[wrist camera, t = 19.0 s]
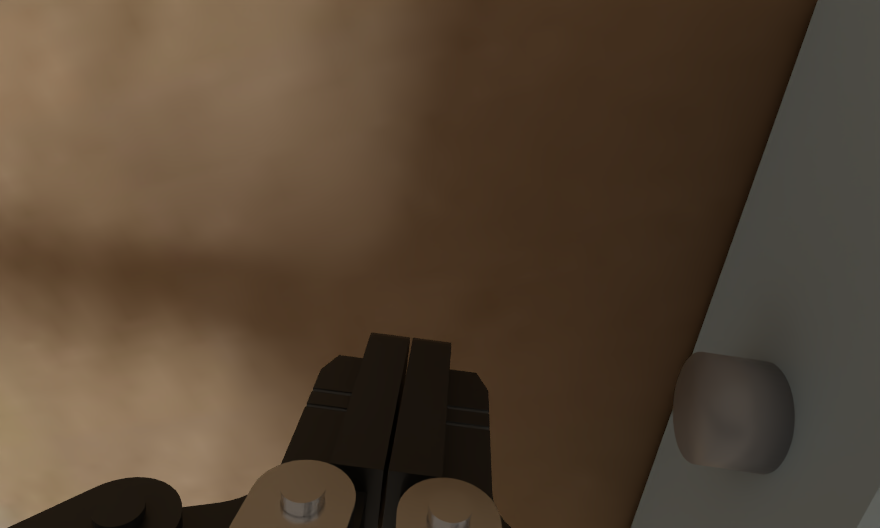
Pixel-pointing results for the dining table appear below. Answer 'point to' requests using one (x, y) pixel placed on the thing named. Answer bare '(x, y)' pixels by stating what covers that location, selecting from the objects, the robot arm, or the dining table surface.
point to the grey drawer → (792, 317)
